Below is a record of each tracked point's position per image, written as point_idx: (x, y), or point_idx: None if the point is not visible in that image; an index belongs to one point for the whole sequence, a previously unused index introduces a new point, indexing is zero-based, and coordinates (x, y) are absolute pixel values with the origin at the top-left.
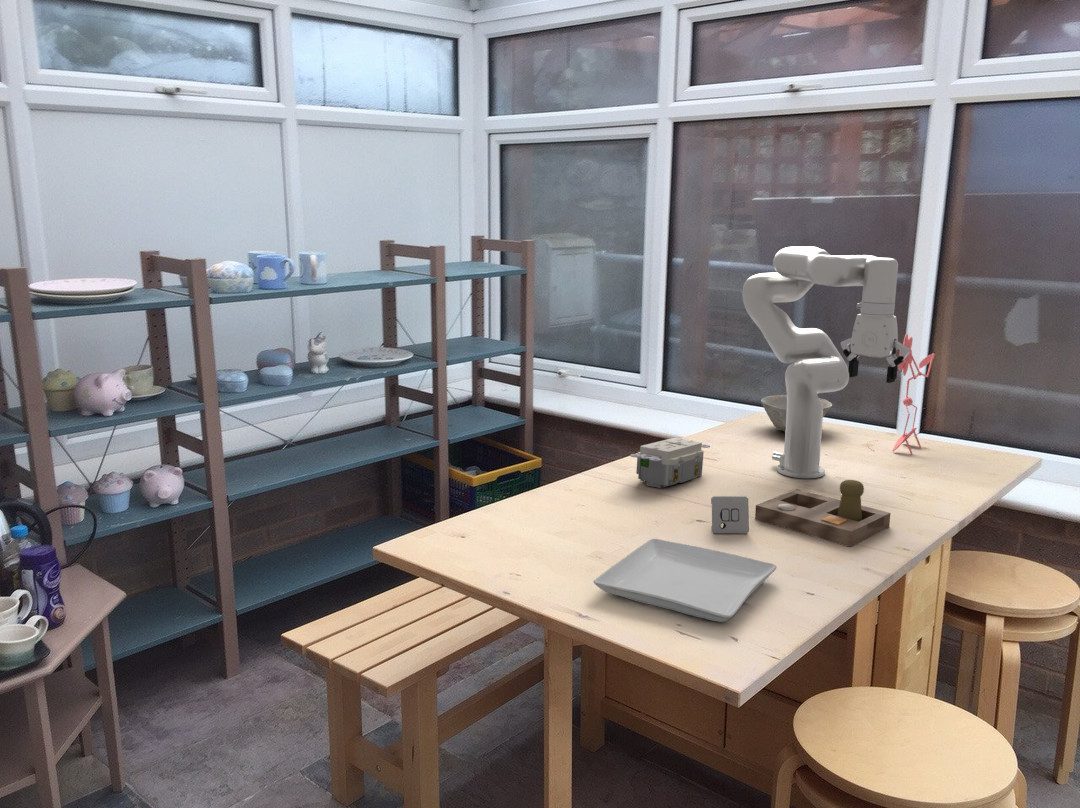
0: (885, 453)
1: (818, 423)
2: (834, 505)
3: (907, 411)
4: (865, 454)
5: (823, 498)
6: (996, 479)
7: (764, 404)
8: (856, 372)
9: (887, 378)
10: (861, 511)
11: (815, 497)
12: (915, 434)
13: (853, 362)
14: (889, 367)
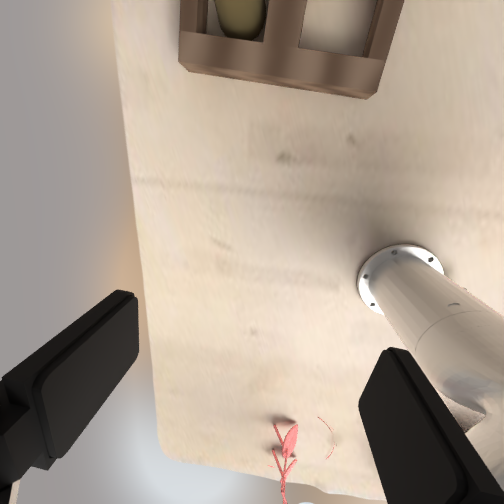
0: (304, 416)
1: (417, 329)
2: (277, 26)
3: (285, 499)
4: (326, 403)
5: (310, 62)
6: (163, 374)
7: None
8: (371, 414)
9: (112, 304)
10: (216, 6)
11: (326, 56)
12: (280, 470)
13: (451, 483)
14: (20, 372)
